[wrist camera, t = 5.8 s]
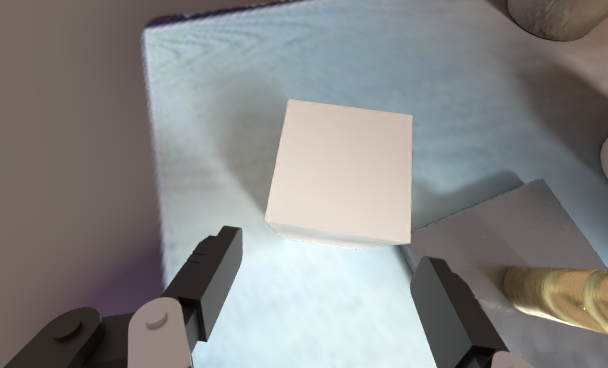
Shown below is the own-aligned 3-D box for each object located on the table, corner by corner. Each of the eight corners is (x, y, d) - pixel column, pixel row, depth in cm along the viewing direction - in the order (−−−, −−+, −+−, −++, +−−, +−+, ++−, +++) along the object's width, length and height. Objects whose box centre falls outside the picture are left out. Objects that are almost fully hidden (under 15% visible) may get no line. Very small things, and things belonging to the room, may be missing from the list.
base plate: (525, 183, 21) (658, 140, 13) (635, 340, 17) (906, 410, 10) (395, 238, 19) (458, 227, 12) (486, 422, 16) (664, 583, 8)
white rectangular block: (361, 179, 21) (412, 115, 11) (356, 249, 19) (410, 243, 9) (294, 170, 21) (288, 98, 11) (283, 238, 19) (264, 221, 10)
